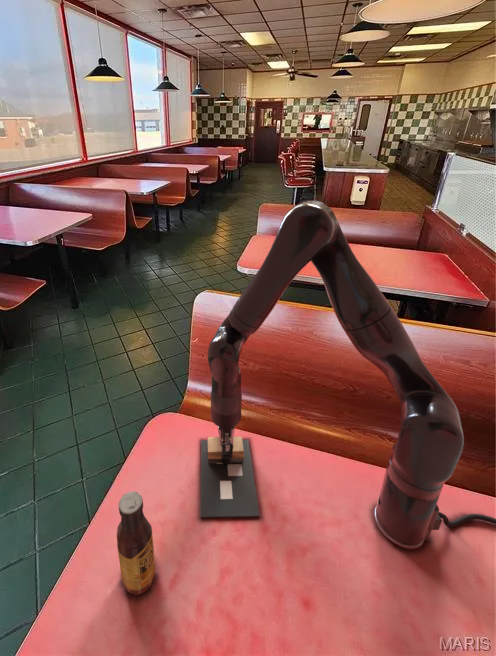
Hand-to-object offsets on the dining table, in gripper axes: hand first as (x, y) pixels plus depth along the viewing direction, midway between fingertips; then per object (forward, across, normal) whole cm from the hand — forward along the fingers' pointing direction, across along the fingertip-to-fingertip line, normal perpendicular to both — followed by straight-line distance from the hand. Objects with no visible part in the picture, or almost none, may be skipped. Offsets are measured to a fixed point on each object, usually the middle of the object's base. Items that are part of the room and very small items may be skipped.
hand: (225, 453), depth 86 cm
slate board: (+1, -5, 0) cm, 5 cm away
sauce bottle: (+1, -25, +18) cm, 31 cm away
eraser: (+1, 0, 0) cm, 1 cm away
